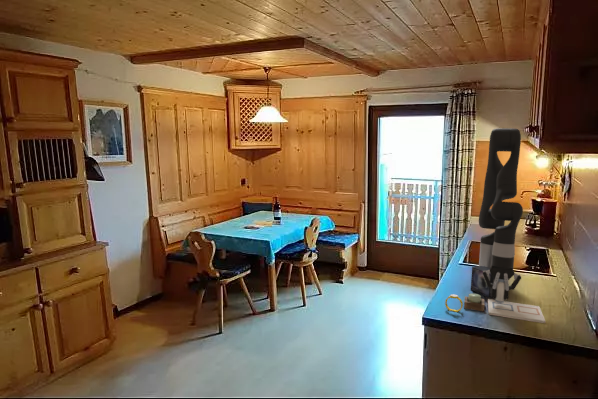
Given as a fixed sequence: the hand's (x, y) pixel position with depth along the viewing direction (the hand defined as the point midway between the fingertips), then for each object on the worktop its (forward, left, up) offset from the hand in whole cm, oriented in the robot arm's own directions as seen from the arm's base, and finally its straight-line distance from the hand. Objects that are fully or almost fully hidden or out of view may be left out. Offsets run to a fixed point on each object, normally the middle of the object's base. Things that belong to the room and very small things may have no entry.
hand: (499, 298), depth 160 cm
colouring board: (+2, +5, -3) cm, 7 cm away
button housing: (+4, -9, -3) cm, 10 cm away
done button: (+4, -9, -2) cm, 10 cm away
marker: (0, 0, -1) cm, 1 cm away
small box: (-16, -5, -4) cm, 17 cm away
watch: (+12, -16, -4) cm, 20 cm away
